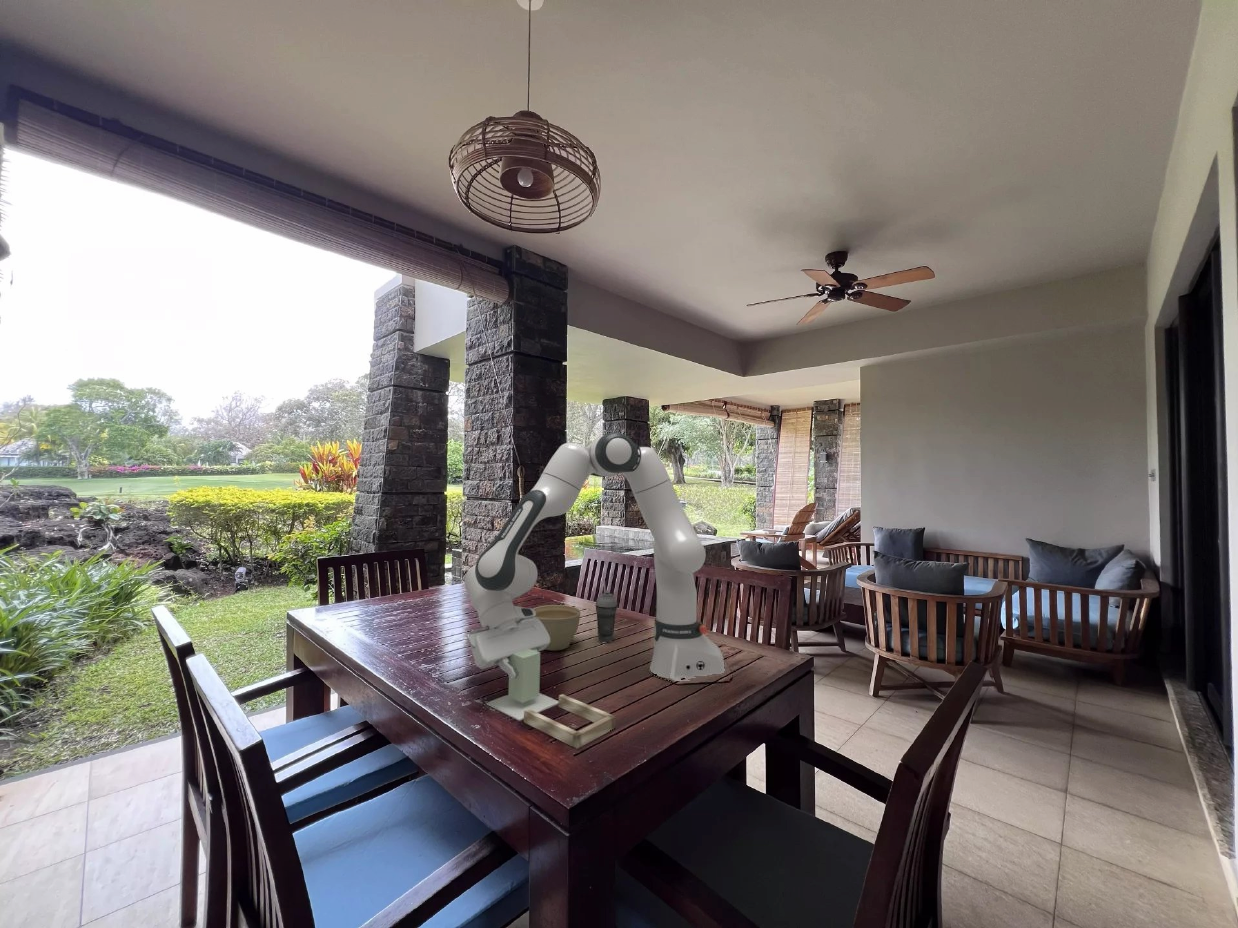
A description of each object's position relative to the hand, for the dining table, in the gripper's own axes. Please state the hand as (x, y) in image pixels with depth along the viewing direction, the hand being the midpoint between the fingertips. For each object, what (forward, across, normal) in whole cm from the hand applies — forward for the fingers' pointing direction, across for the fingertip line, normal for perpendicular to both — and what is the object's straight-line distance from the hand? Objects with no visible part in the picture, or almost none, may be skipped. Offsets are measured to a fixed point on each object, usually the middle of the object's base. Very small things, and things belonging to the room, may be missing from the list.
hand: (526, 673), depth 119 cm
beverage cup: (-7, +48, +18) cm, 51 cm away
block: (+3, 0, +4) cm, 5 cm away
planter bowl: (-13, +33, +24) cm, 42 cm away
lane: (+16, 0, -6) cm, 17 cm away
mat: (+5, 0, +6) cm, 7 cm away
